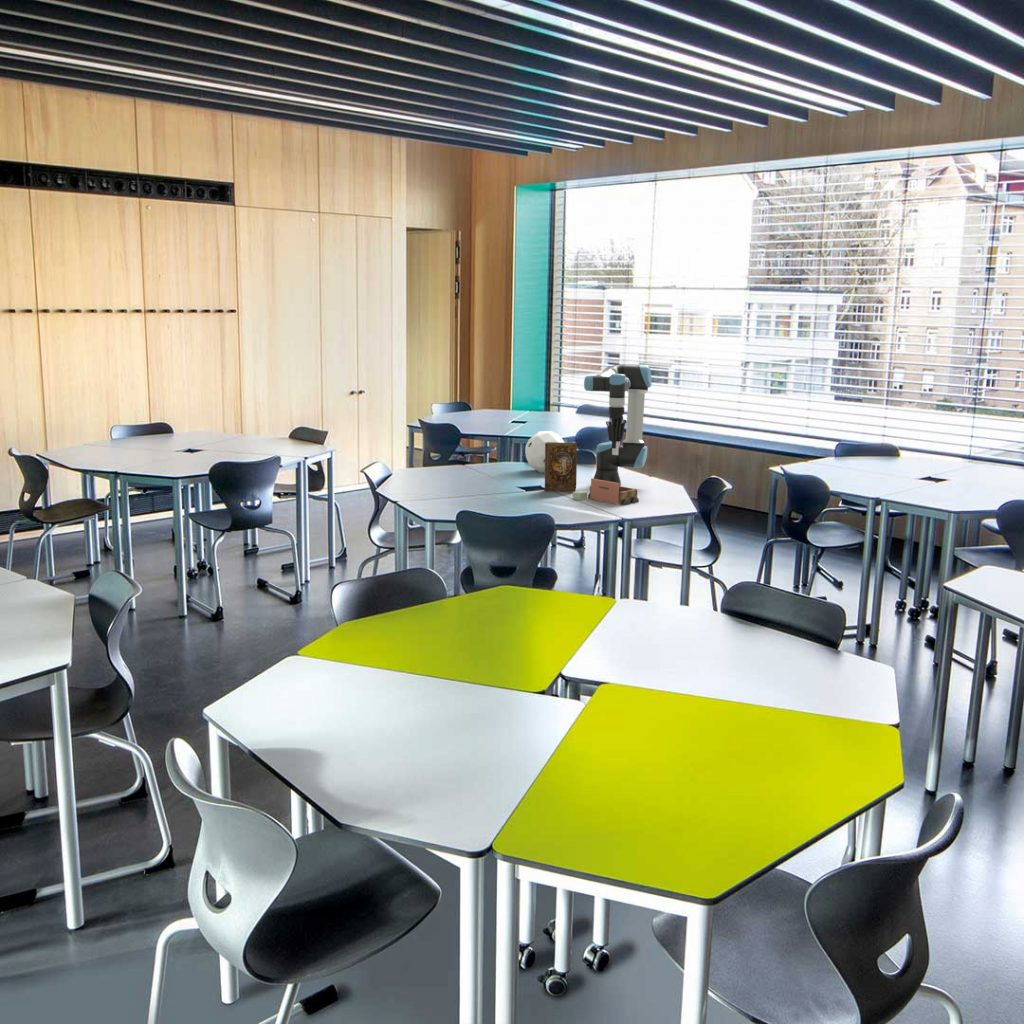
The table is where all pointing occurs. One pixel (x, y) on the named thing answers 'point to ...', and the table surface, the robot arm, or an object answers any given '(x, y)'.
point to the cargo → (579, 495)
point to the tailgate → (605, 491)
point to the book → (560, 467)
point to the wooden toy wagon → (625, 495)
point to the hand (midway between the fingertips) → (615, 454)
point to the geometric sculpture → (540, 448)
